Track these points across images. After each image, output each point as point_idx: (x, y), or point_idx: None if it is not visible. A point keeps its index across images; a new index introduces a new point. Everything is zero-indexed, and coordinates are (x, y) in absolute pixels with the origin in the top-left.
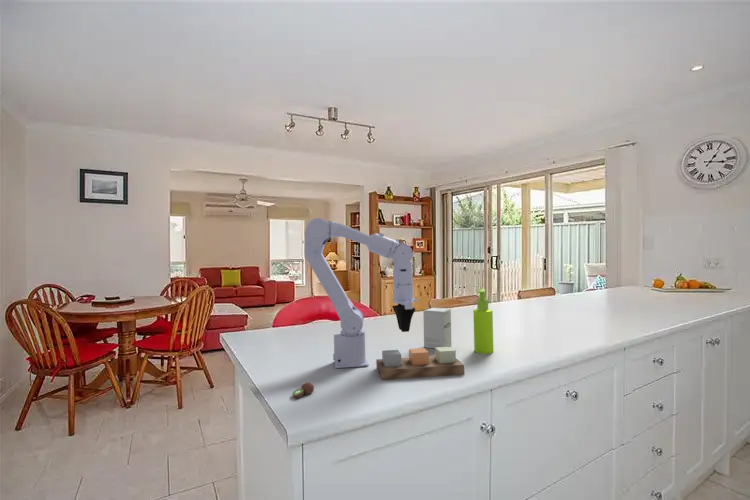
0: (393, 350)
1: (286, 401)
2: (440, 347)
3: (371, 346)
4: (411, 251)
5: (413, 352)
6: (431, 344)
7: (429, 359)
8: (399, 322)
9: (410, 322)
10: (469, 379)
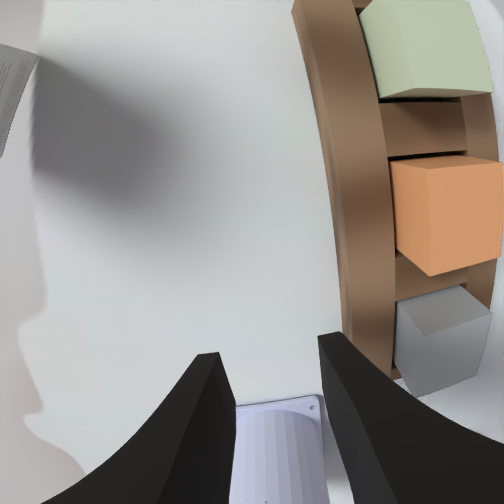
0: (429, 355)
1: None
2: (413, 51)
3: (36, 373)
4: None
5: (492, 251)
6: (2, 118)
7: (398, 134)
8: (228, 458)
9: (392, 382)
10: (489, 30)
